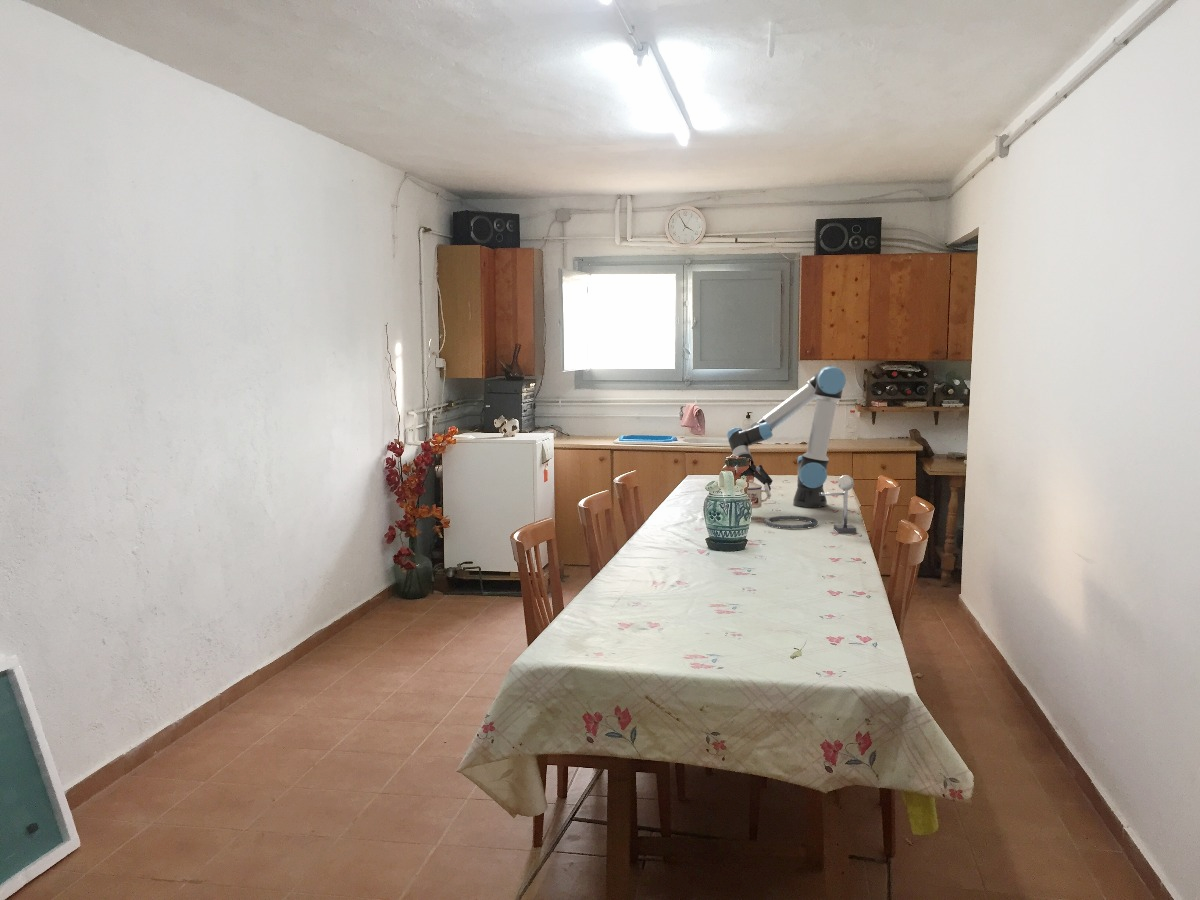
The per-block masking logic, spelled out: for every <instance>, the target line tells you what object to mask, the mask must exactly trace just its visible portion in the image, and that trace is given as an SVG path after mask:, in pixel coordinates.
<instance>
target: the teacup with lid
mask: <svg viewBox="0 0 1200 900" xmlns="http://www.w3.org/2000/svg"><path fill="white" fill-rule="evenodd" d="M747 483H749V487H748V490H747V495H748V497H749V498H750V500H751V502H752V508H751V509H759V508H762V505H763V504H762V503H764V502H766V501H767V500H769V499H768V497H769V493H768V492H767V491H766V490H765V489H762V485H760V484H758V483H757V482H755V481H754V480H753V479H749V480H748V482H747ZM762 493H765V494H766V493H767V494H766V497H765V499H762Z"/></svg>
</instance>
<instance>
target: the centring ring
mask: <svg viewBox="0 0 1200 900" xmlns="http://www.w3.org/2000/svg"><path fill="white" fill-rule="evenodd" d="M779 519H799V520H798V521H801V520H806V521H805V522H807V521H811V522H812V523H811V522H808V523H805V524H804V523H803V524H784V523H777V522H775V521H773V520H776V521H780V520H779ZM770 521H771V522H770ZM764 524H765V526H767V525H768V526H767V527H771V526H773V527H772V528H775V527H778V528H777V529H783V528H807V529H809V528H808V527H814V526H816V525H817V524H818V525H819V521H818V519H816V518H812V517H808V516H801V515H775V516H768V517H767V518H765V519H764ZM818 525H817V526H818ZM817 526H816V527H817ZM779 527H780V528H779ZM814 528H815V527H814Z"/></svg>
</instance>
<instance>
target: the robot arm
mask: <svg viewBox="0 0 1200 900" xmlns="http://www.w3.org/2000/svg"><path fill="white" fill-rule="evenodd" d="M846 381H847V380H846V375H845V373H844V372H843V370H842V369H840V368H839V367H837V366H835V365H834V366H833V365H827V366H824V367H821V369H819V370H818V371H817V372H816V373H815V374H814V375H813V376H812V377H811V378H809V379H808V380H807V382H806V384H805V385H804V386H802V387H801V388H799V389H798V390H797V391H796V392H794V393H793V394H792V395H791V396H789V397H788V398H787V399H785V400H783V402H781V403H780V404H778V405H777V406H776V407H774V408H773V409H771V410H770V411H769V412H767V414H765V415H764V416H763V417H761V418H760V419H758V420H757V421H755V422H753V423H752V425H751V426H750V427H749V428H748V427H747V428H746V429H743V428H741V427H733V428H731V429H729V430H728V431H727V434H726V436H727V440H728V441H727V442H728V444H729V446H730V447H729V448H730V449H731V453H732V456H733V457H734V456H739V457H746V458H750V459H751V466H750V465H749V468H748V469H747V470H746V471H744V472H743V473H740V475H739V477H741V476H743V477H753V478H755V479H756V480H757V481H758V482H760V483H761V484H762V485H764V486H763V490H766V491H767V492H768V493H769V497H768V499H767V500H770V499H771V497H772V493H771V490H772V488H771V485H772V483H773V481H774V480H773V479H772V477H770V476H769V474H768V473H767V472H766V470H765V469H764V467H763V465H762V464H759V465H755V462H754V460H753V459H754V458H753V456H752V454H751V450H750V446H752V445H755V444H758V443H761V442H763V441H768V440H769V439H771V438H772V437H773V436H774V435H773V430H775V429H777V428H778V427H779V426H780V425H782V424H783V423H784V422H786V421H787V420H789V419H790V418H791V417H793V416H794V415H795V414H796V413H798V412H799V411H801V410H802V409H804V407H805V408H806V406H807V405H809V404H810V403H811V402H813V401H814V400H816V402H815V406H814V413H813V418H812V423H811V429H810V434H809V437H808V443H807V448H806V452H804V453H803V454H802V455H799V456H798V457H797V486H796V487H797V488H796V491H795V494H794V497H793V499H792V500H793V503H792V504H793V506H796V505H797V507H800V506H806V507H805V508H820V507H819V506H824V507H827V505H828V503H827V502H828V501H827V497H826V496H819V493H825V491H824V484H825V483H826V481H827V477H828V472H827V471H828V467H829V466H828V465H829V461H830V458H829V457H828V455H827V453H828V447H829V445H830V444H829V443H830V437H831V432H832V428H833V422H834V417H835V412H836V406H837V402H839V401H841V399H842V395H843V390H844V388H845V387H846V386H845V385H846ZM735 475H736V476H737V472H736V470H735ZM765 494H766V495H767V493H766V492H765Z"/></svg>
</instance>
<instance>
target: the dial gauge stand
mask: <svg viewBox="0 0 1200 900" xmlns="http://www.w3.org/2000/svg"><path fill="white" fill-rule="evenodd" d="M854 485H855V481H854V478H853V477H852V476H850V475H848V474H844V475H843V474H842V475H841V476H840V477H839V478H838V480H837V486H838V487H839V489H841V490H843V492H824V493H819V496H843V499H842V500H843V501H842V502H843V503H842V505H843V508H842V524H833V530H834V529H835V530H836V531H837V532H838V534H857V527H856V526H854V525H853V524H848V505H849V504H848V502H849V501H848V500H849V499H848V497H849V494H848V493H849V491H850V490H851V489H853V487H854ZM835 530H834V531H835ZM836 531H835V532H836ZM837 532H836V533H837Z"/></svg>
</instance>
